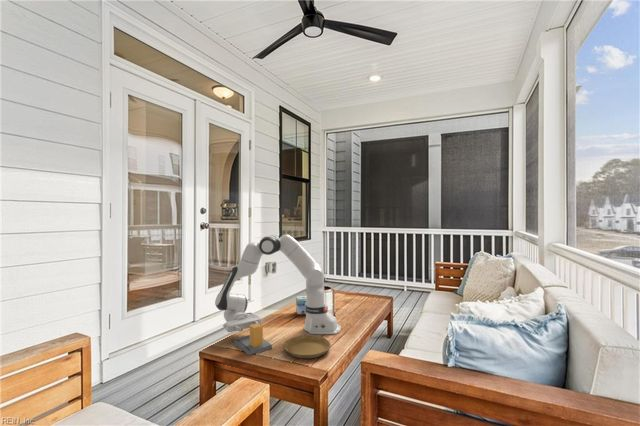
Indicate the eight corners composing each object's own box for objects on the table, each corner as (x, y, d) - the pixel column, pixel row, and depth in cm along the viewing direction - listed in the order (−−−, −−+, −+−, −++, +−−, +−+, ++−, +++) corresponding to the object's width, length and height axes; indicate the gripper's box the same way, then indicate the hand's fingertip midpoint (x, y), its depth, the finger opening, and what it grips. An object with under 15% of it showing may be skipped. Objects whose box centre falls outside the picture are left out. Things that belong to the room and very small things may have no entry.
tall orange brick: (258, 341, 172) (258, 323, 172) (262, 345, 168) (262, 325, 168) (249, 344, 169) (249, 325, 169) (253, 347, 165) (253, 328, 165)
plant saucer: (296, 338, 182) (296, 332, 182) (336, 344, 173) (336, 338, 173) (275, 356, 159) (275, 350, 159) (320, 365, 151) (320, 358, 151)
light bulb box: (297, 314, 222) (297, 299, 222) (295, 311, 229) (295, 296, 228) (312, 313, 225) (312, 297, 225) (310, 310, 231) (310, 295, 231)
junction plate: (234, 342, 176) (233, 328, 176) (255, 337, 184) (255, 323, 183) (248, 355, 161) (248, 339, 160) (271, 348, 168) (271, 333, 168)
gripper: (221, 319, 179) (231, 326, 168) (255, 312, 191) (266, 318, 180) (221, 330, 179) (231, 338, 168) (255, 322, 192) (266, 329, 181)
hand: (249, 327), depth 174 cm, fingers open, 8 cm apart
